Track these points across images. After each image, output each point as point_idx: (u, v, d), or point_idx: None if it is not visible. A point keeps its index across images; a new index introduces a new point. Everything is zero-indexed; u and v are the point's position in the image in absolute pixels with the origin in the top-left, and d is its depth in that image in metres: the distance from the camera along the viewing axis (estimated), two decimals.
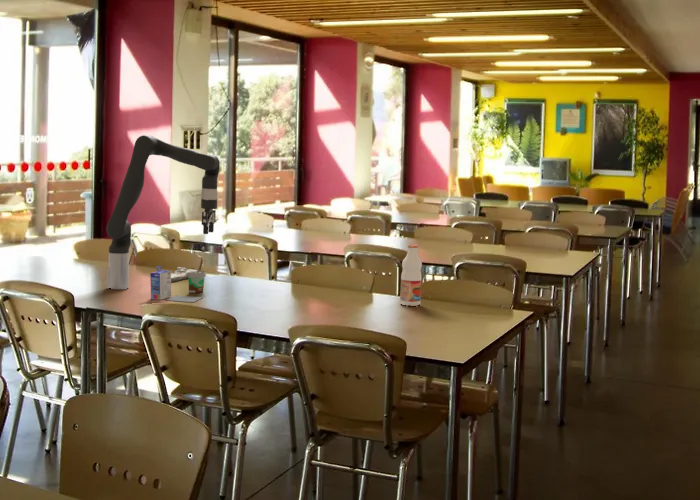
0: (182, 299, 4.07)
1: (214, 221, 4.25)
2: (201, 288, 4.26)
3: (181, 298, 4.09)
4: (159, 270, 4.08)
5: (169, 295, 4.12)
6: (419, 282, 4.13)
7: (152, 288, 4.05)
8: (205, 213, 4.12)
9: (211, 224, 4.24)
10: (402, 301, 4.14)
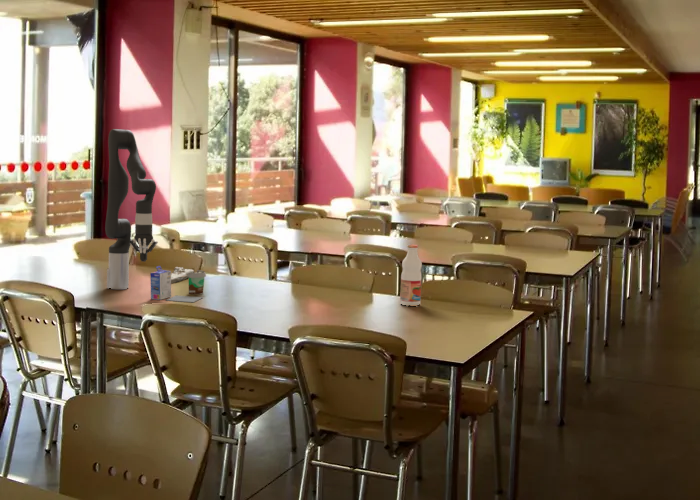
0: (182, 299, 4.07)
1: None
2: (201, 288, 4.26)
3: (181, 298, 4.09)
4: (159, 270, 4.08)
5: (169, 295, 4.12)
6: (419, 282, 4.13)
7: (152, 288, 4.05)
8: (156, 243, 4.08)
9: None
10: (402, 301, 4.14)
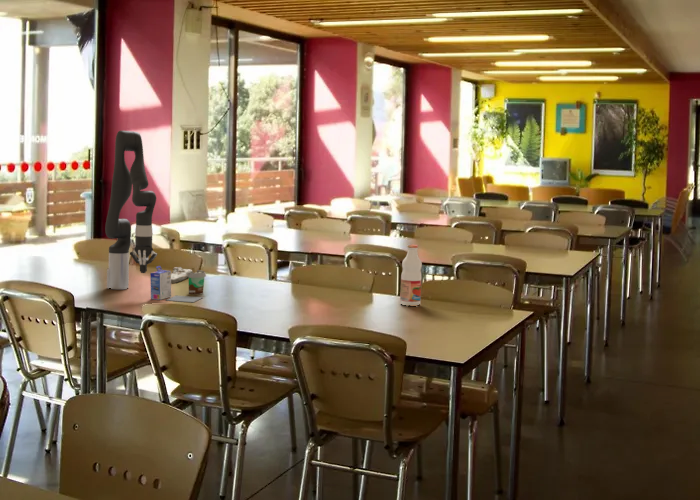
0: (182, 299, 4.07)
1: None
2: (201, 288, 4.26)
3: (181, 298, 4.09)
4: (159, 270, 4.08)
5: (169, 295, 4.12)
6: (419, 282, 4.13)
7: (152, 288, 4.05)
8: (156, 255, 4.09)
9: None
10: (402, 301, 4.14)
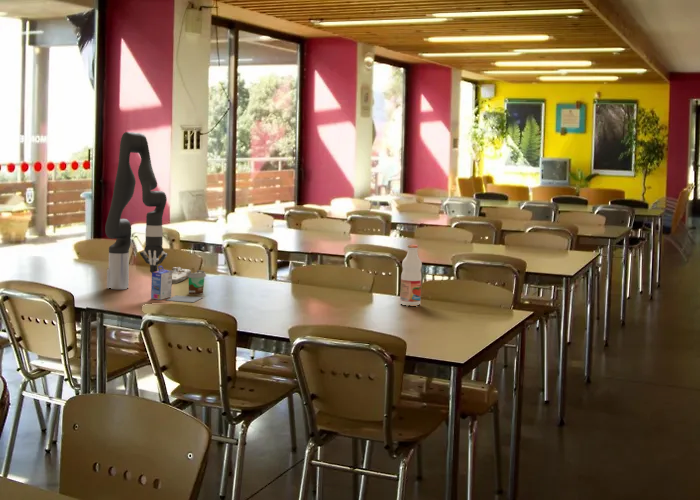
0: (182, 299, 4.07)
1: None
2: (201, 288, 4.26)
3: (181, 298, 4.09)
4: (161, 270, 4.08)
5: (169, 295, 4.12)
6: (419, 282, 4.13)
7: (153, 287, 4.05)
8: (166, 255, 4.07)
9: None
10: (402, 301, 4.14)
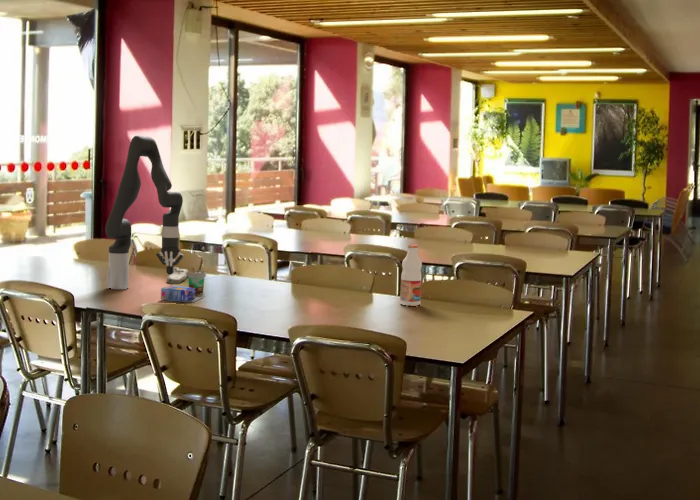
0: None
1: None
2: (201, 288, 4.26)
3: None
4: (190, 294, 4.04)
5: None
6: (419, 282, 4.13)
7: (170, 291, 4.03)
8: (183, 256, 4.06)
9: None
10: (402, 301, 4.14)
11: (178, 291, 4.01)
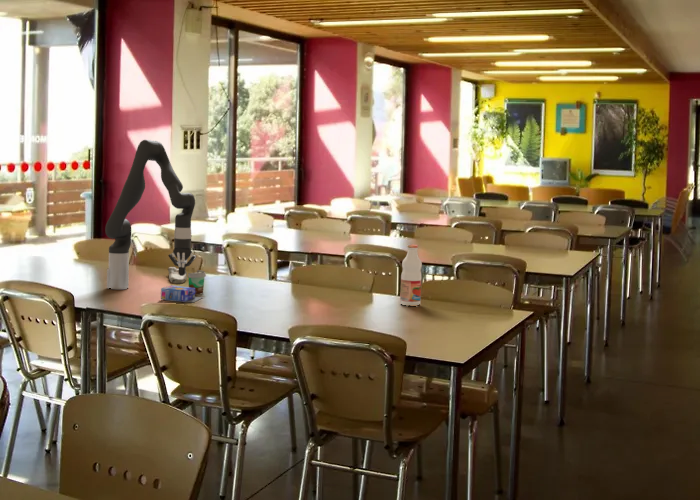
0: None
1: None
2: (201, 288, 4.26)
3: None
4: (190, 294, 4.04)
5: None
6: (419, 282, 4.13)
7: (170, 291, 4.03)
8: (195, 257, 4.05)
9: None
10: (402, 301, 4.14)
11: (178, 291, 4.01)
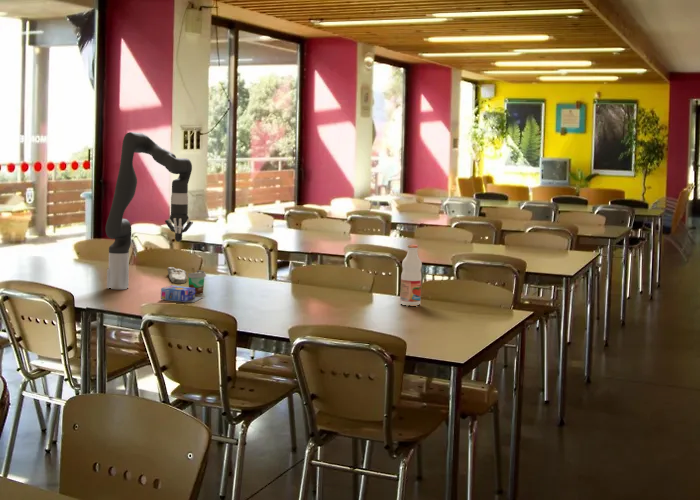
0: None
1: None
2: (201, 288, 4.26)
3: None
4: (190, 294, 4.04)
5: None
6: (419, 282, 4.13)
7: (170, 291, 4.03)
8: (191, 223, 4.04)
9: None
10: (402, 301, 4.14)
11: (178, 291, 4.01)
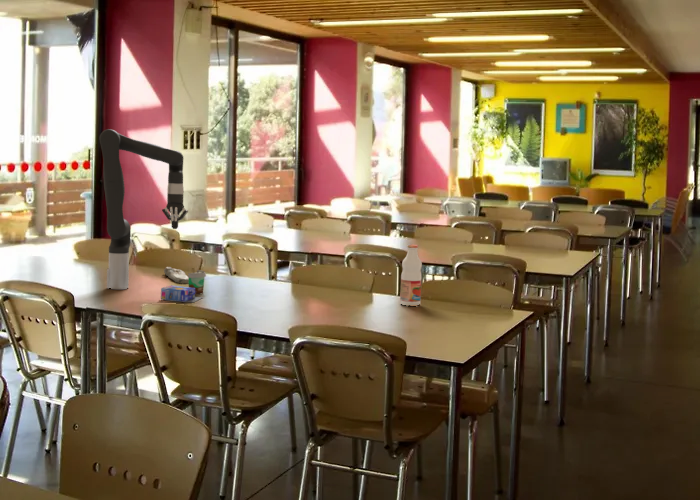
0: None
1: None
2: (201, 288, 4.26)
3: None
4: (190, 294, 4.04)
5: None
6: (419, 282, 4.13)
7: (170, 291, 4.03)
8: (187, 212, 4.32)
9: None
10: (402, 301, 4.14)
11: (178, 291, 4.01)
